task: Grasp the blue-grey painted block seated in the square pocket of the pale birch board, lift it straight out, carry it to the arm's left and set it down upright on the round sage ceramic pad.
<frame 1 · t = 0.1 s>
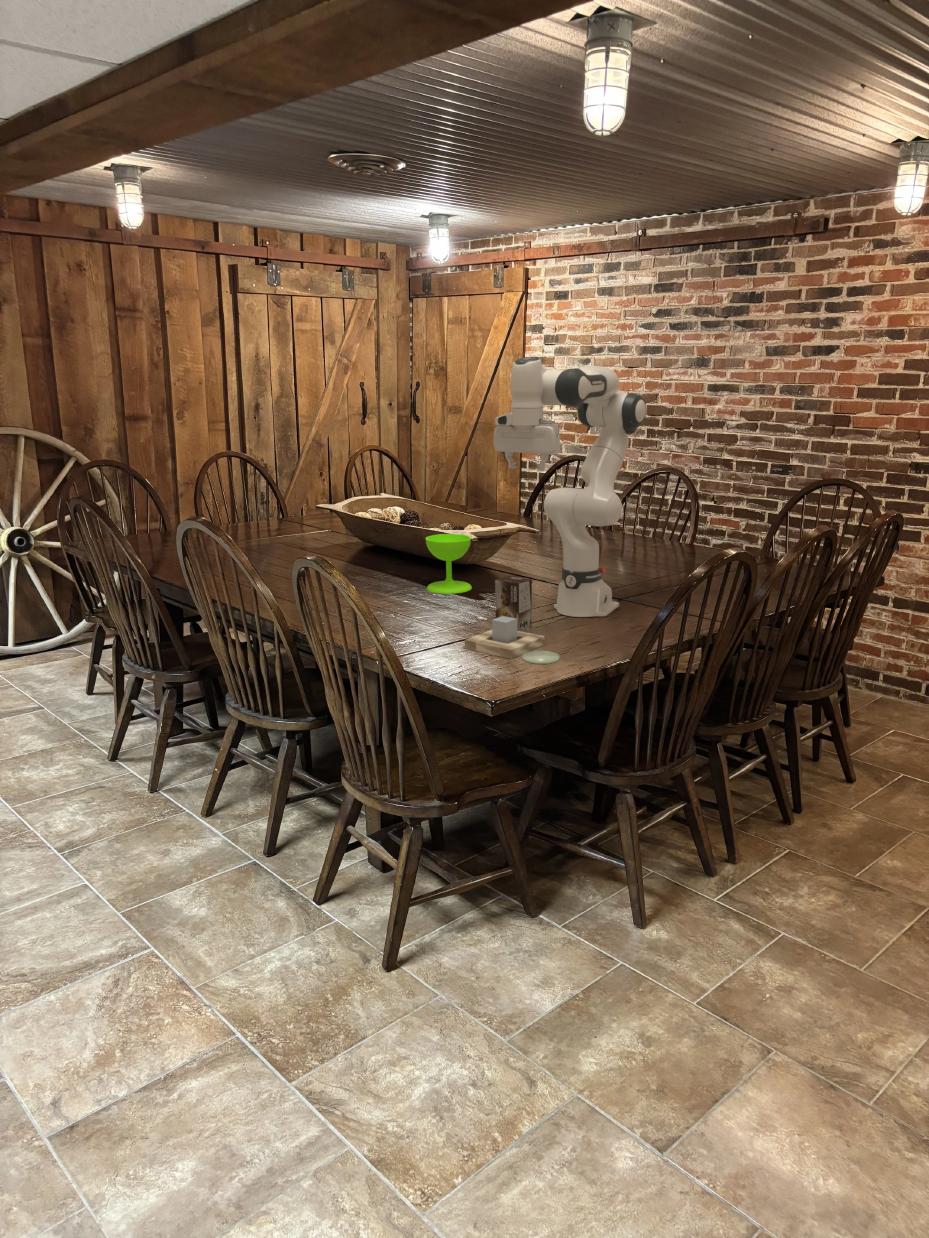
hand: (526, 469, 254), 48 cm above the table, fingers open, 8 cm apart
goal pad: (540, 658, 245), on the table
coffee box: (513, 633, 269), on the table
wineglass: (449, 588, 323), on the table
pocket board: (504, 646, 256), on the table
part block: (504, 633, 255), in the pocket board
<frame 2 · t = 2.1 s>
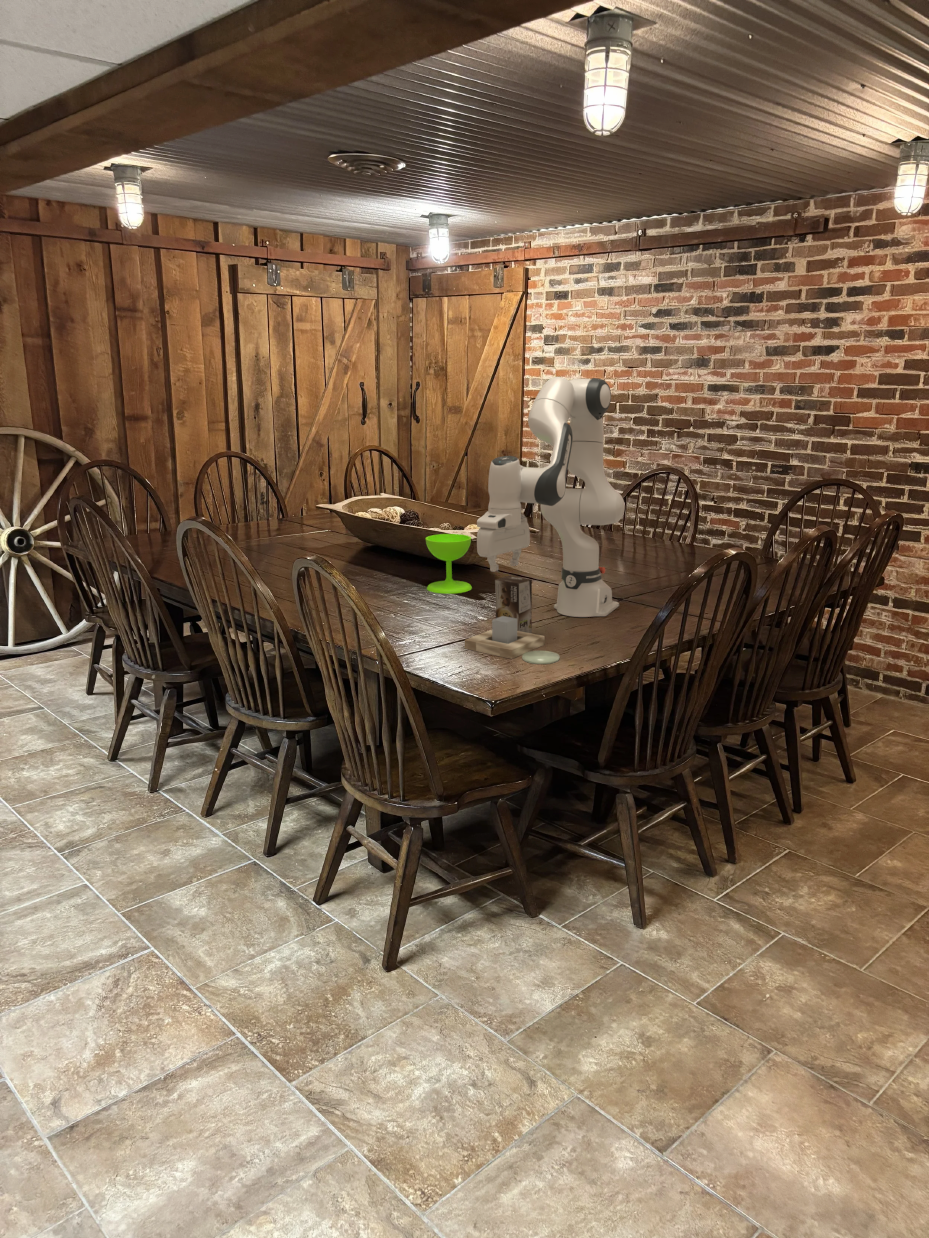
hand: (504, 568, 250), 22 cm above the table, fingers open, 8 cm apart
nothing on the table moved.
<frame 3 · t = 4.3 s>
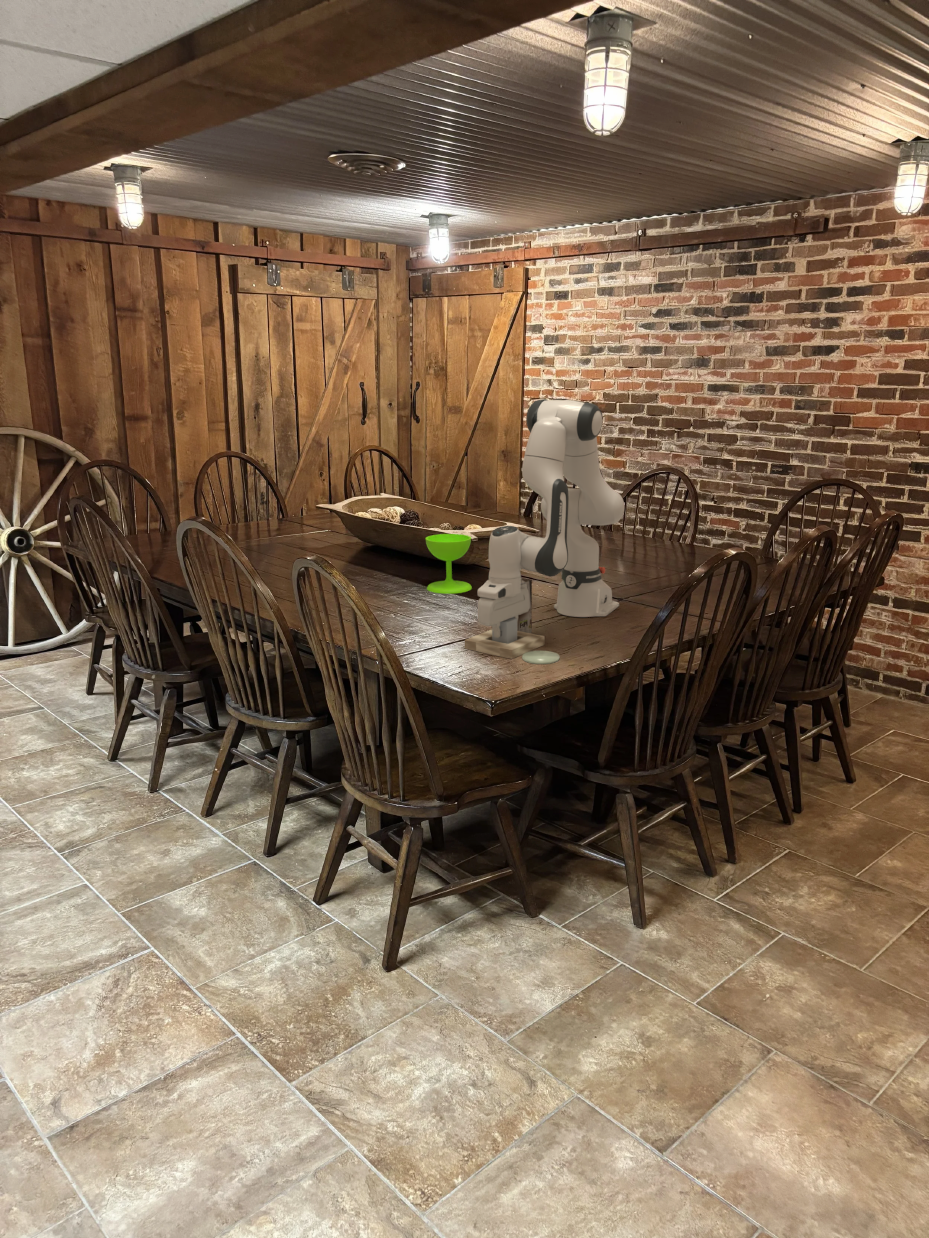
hand: (504, 634, 255), 4 cm above the table, fingers closed on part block, 5 cm apart
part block: (504, 632, 255), in the pocket board, touching gripper
everything else where it was.
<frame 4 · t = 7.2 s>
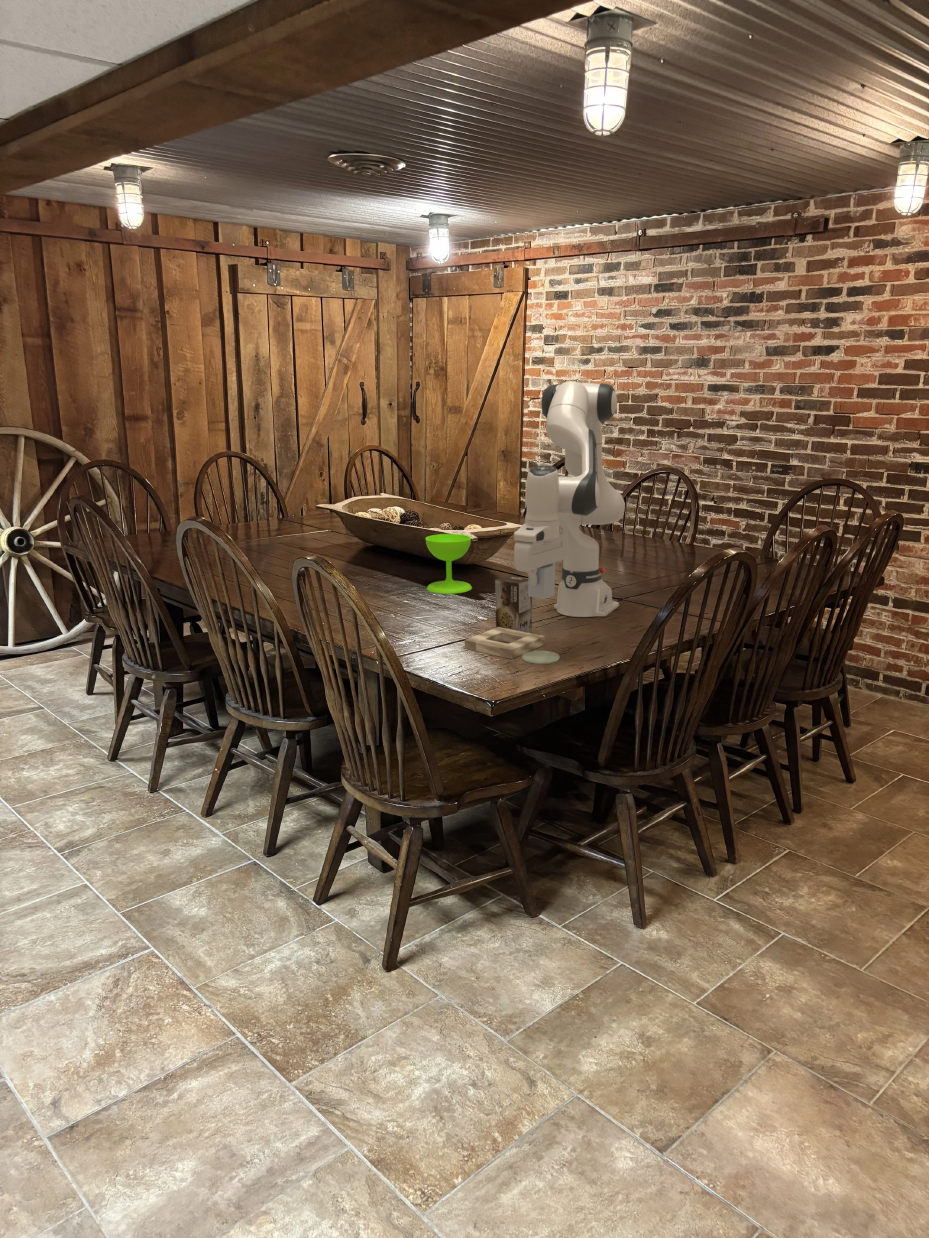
hand: (541, 582, 240), 21 cm above the table, fingers closed on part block, 5 cm apart
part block: (541, 580, 240), point 21 cm above the table, touching gripper
everything else where it was.
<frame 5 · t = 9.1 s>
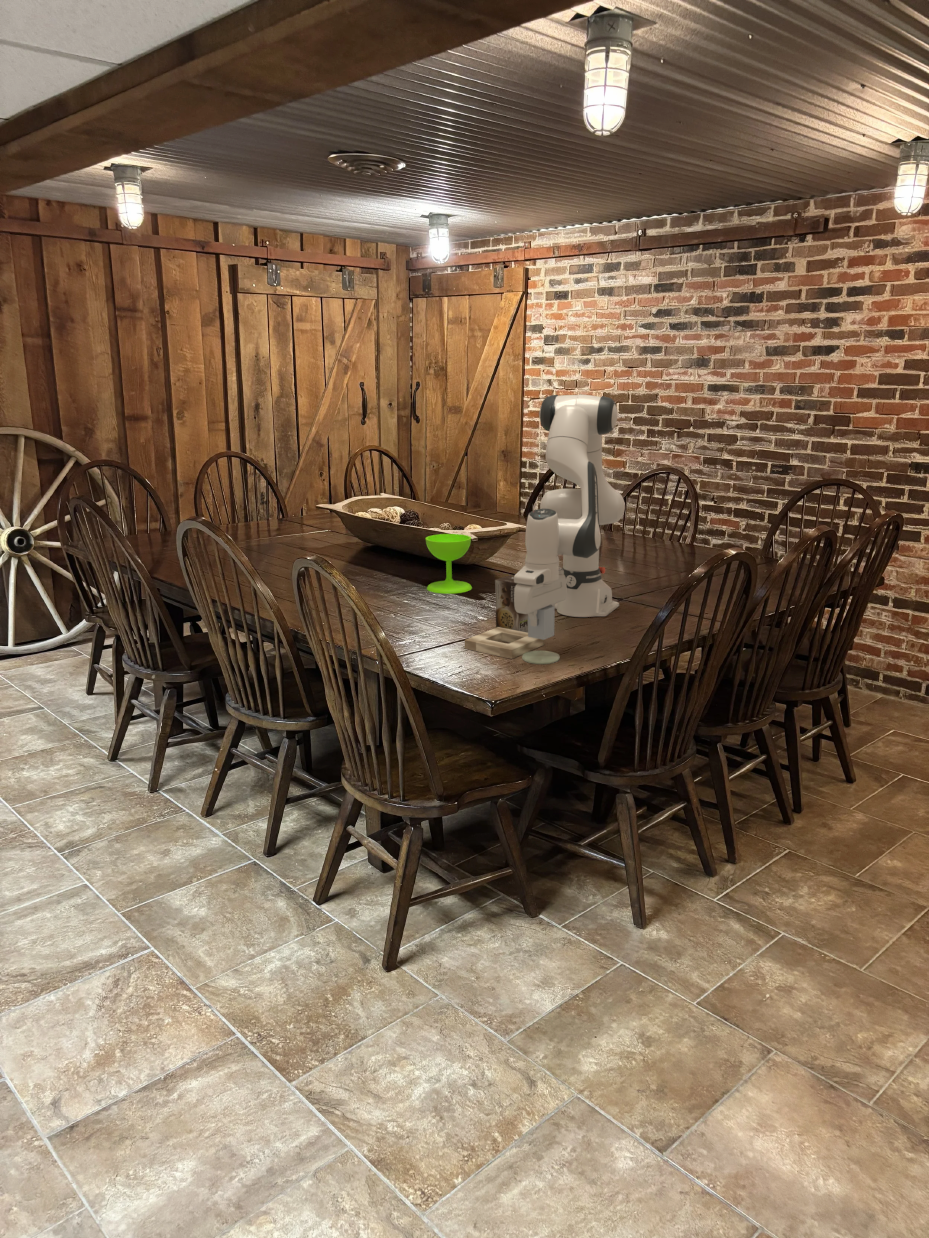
hand: (541, 623, 243), 10 cm above the table, fingers closed on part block, 5 cm apart
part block: (541, 621, 242), point 10 cm above the table, touching gripper
everything else where it was.
when the fingers open (5 cm above the table, at t = 10.5 s): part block drops 1 cm, resting on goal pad.
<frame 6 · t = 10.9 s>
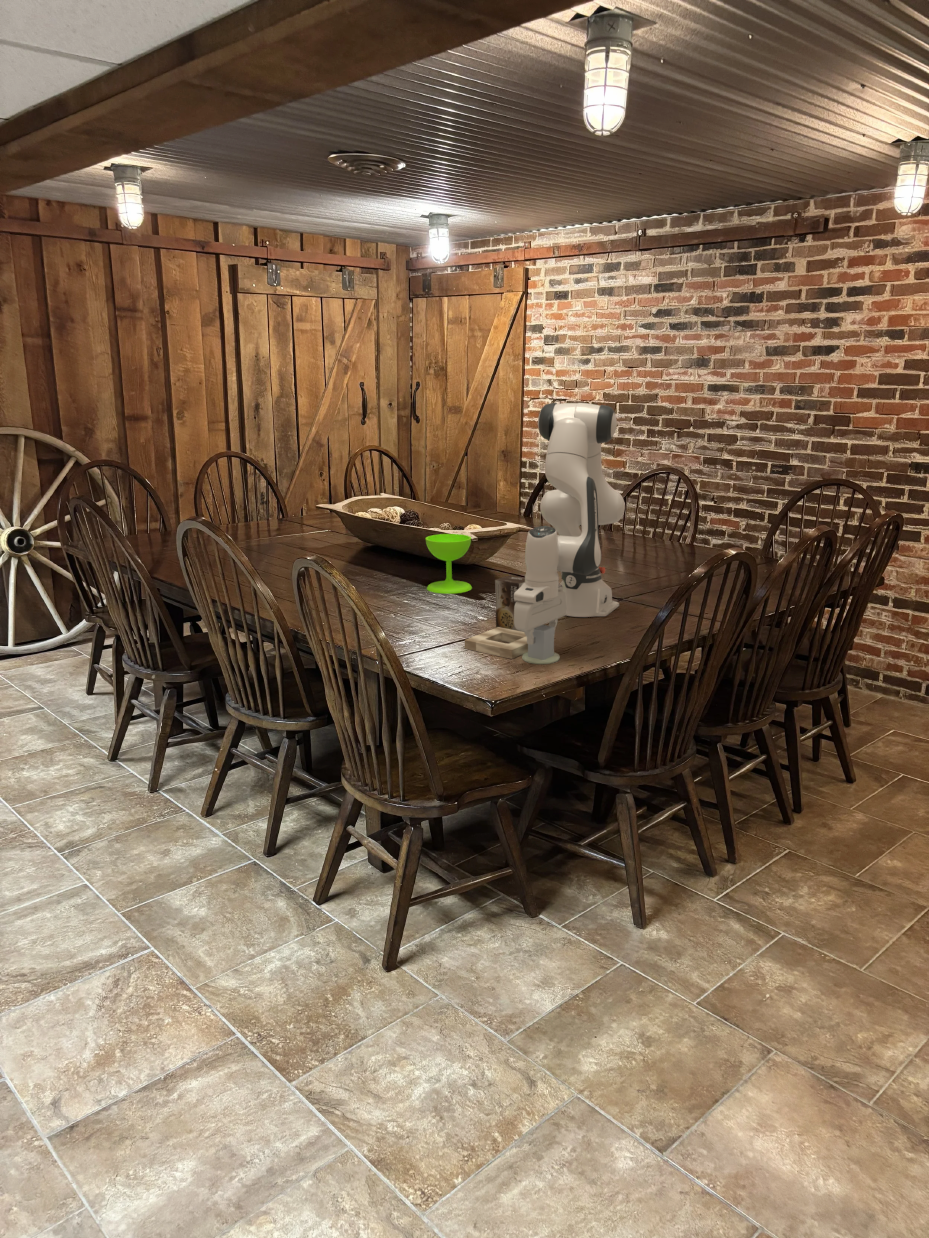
hand: (541, 639, 244), 5 cm above the table, fingers open, 8 cm apart
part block: (541, 641, 244), on the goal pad, point 5 cm above the table
everything else where it was.
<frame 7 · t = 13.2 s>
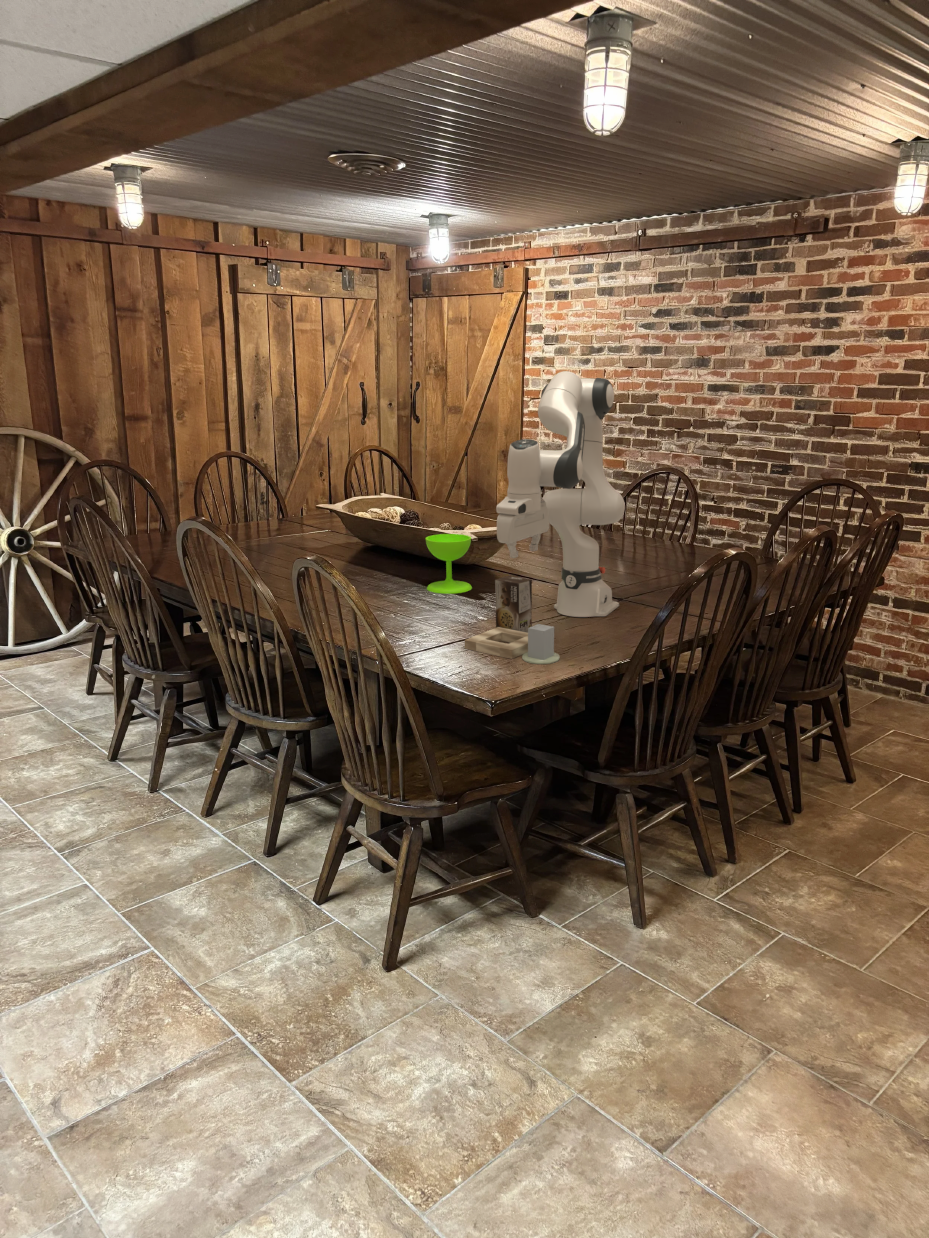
hand: (523, 554, 245), 27 cm above the table, fingers open, 8 cm apart
nothing on the table moved.
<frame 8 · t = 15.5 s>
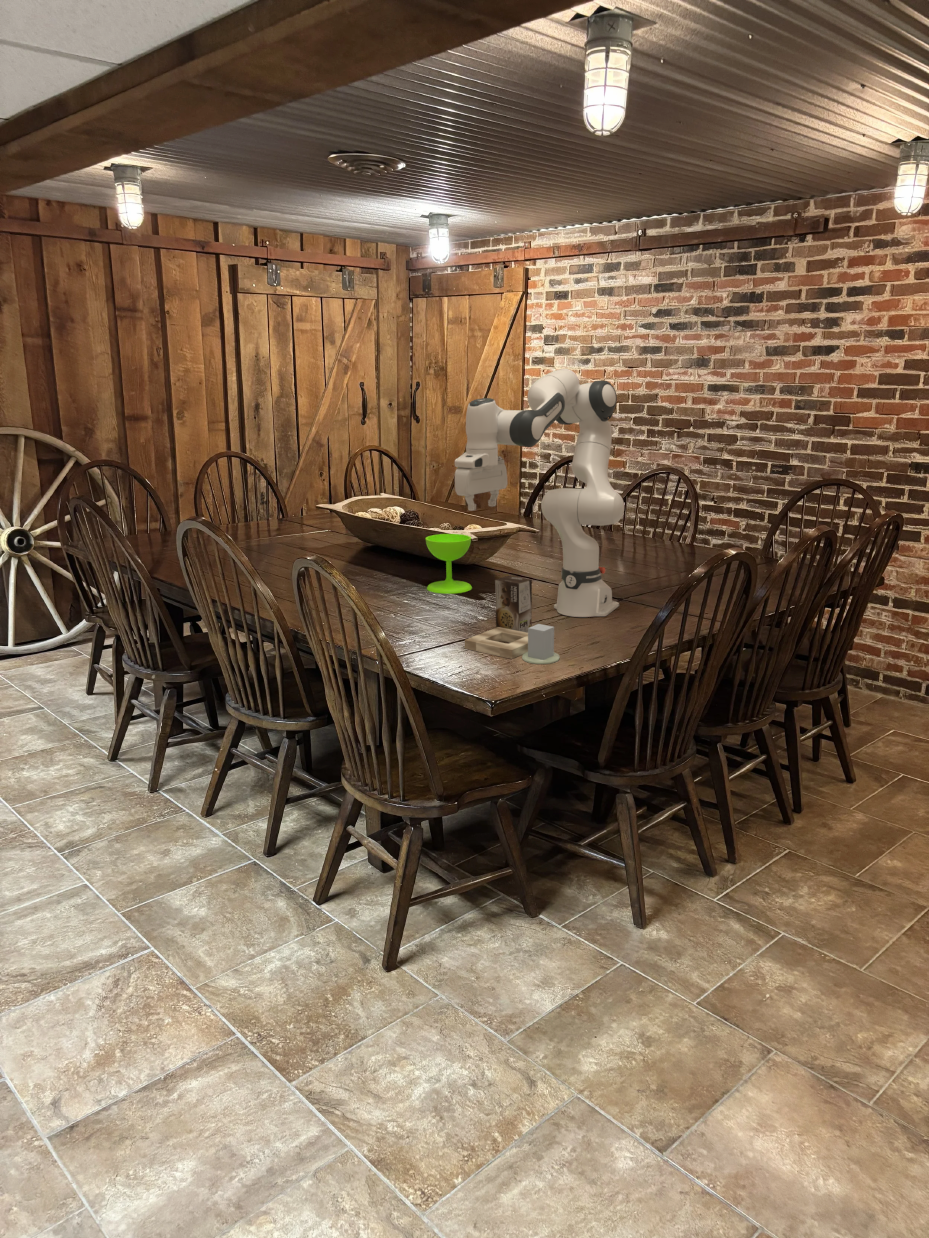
hand: (482, 508, 258), 37 cm above the table, fingers open, 8 cm apart
nothing on the table moved.
at the end: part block 0.1 cm from the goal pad (horizontally); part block tilted 0°; the gripper is holding nothing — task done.
